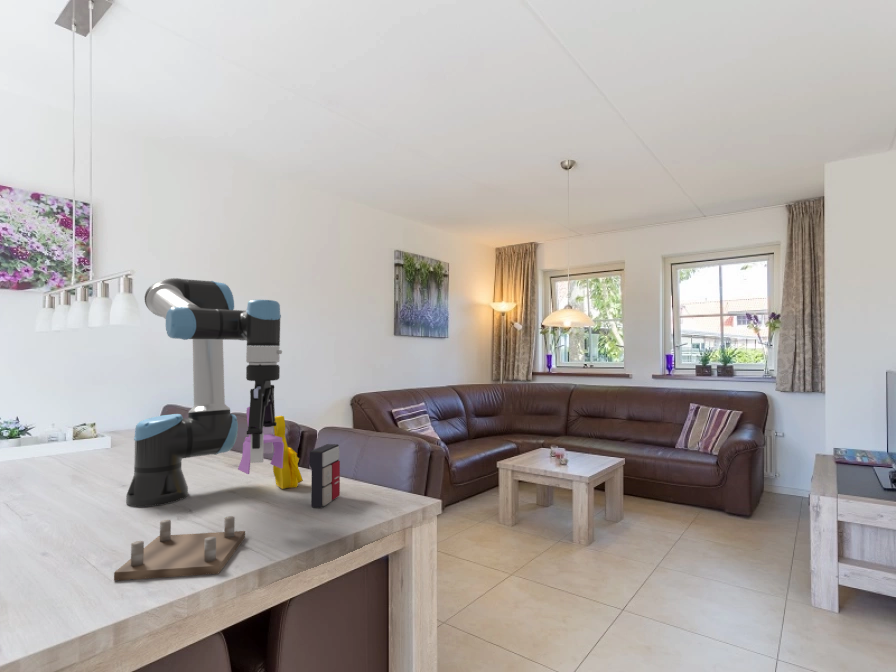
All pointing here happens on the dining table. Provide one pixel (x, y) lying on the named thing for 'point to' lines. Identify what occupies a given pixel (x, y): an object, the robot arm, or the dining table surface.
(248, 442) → the toy chair
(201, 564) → the peg stand
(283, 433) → the figure statuette
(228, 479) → the dining table surface
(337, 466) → the grey and red block
